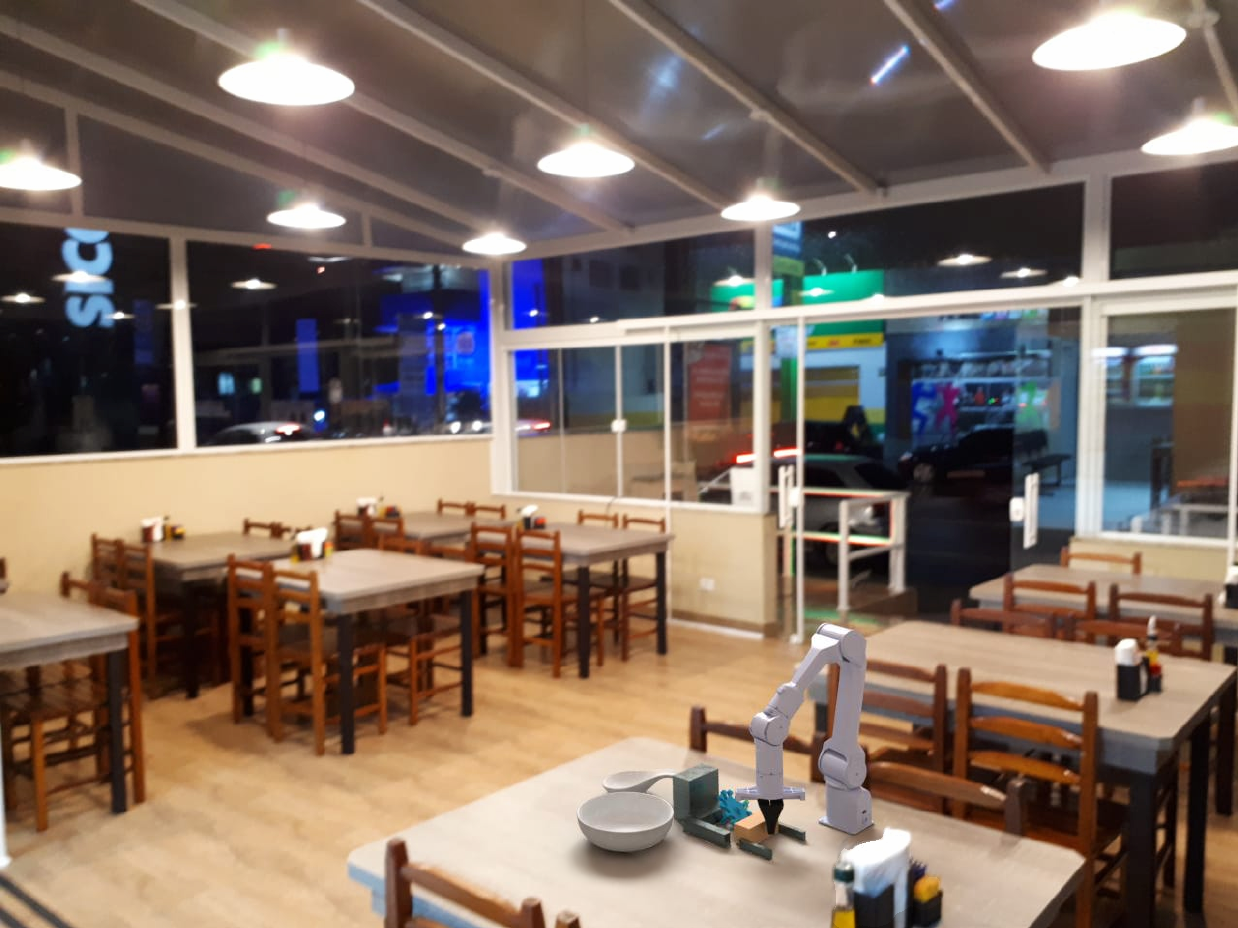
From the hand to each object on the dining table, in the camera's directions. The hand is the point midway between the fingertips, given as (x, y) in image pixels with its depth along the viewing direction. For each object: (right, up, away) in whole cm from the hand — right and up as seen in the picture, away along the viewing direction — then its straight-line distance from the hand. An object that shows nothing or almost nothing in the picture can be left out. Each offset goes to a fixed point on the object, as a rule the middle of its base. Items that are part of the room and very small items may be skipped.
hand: (770, 832), depth 202 cm
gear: (-6, -2, +9) cm, 11 cm away
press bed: (-7, -2, +6) cm, 10 cm away
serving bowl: (-31, -4, +4) cm, 31 cm away
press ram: (-3, -2, +3) cm, 5 cm away
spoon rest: (-25, -2, +26) cm, 36 cm away
